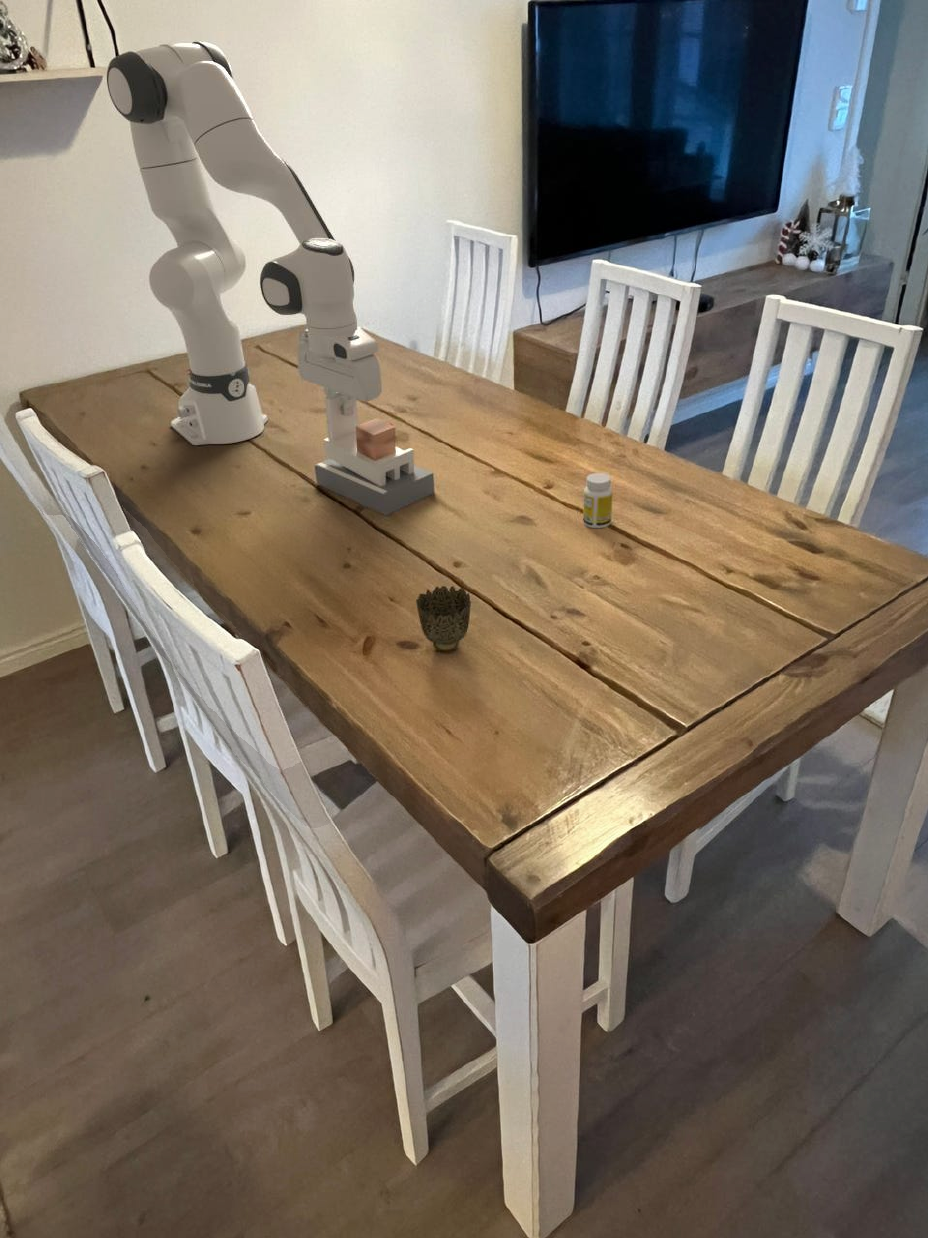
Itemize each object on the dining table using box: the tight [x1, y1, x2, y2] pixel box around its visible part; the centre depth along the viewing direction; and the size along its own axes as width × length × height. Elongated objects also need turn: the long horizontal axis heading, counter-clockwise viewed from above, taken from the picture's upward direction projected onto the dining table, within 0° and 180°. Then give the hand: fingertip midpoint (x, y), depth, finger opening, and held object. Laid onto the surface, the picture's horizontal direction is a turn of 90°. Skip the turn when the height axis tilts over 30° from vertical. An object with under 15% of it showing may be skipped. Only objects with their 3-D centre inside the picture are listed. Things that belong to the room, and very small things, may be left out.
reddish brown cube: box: [356, 417, 397, 461], centre depth 163 cm, size 5×5×5 cm
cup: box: [415, 585, 472, 653], centre depth 124 cm, size 8×7×8 cm
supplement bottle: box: [582, 472, 613, 529], centre depth 153 cm, size 5×5×8 cm
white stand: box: [323, 392, 415, 486], centre depth 165 cm, size 16×8×11 cm, turn 45°
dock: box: [314, 458, 435, 516], centre depth 169 cm, size 20×12×4 cm, turn 45°
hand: (342, 412), depth 167 cm, fingers closed
